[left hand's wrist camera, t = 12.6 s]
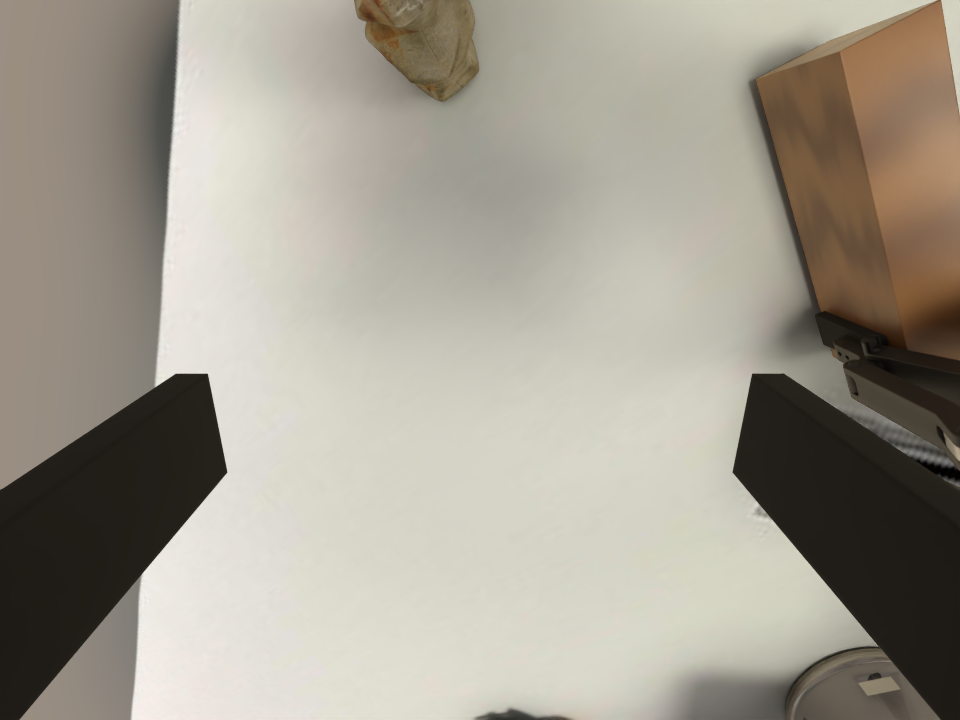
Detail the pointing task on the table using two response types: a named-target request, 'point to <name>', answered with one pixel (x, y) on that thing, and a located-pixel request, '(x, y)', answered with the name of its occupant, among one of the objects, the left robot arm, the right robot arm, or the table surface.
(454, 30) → the sculpture
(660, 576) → the table surface
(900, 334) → the bar
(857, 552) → the left robot arm
